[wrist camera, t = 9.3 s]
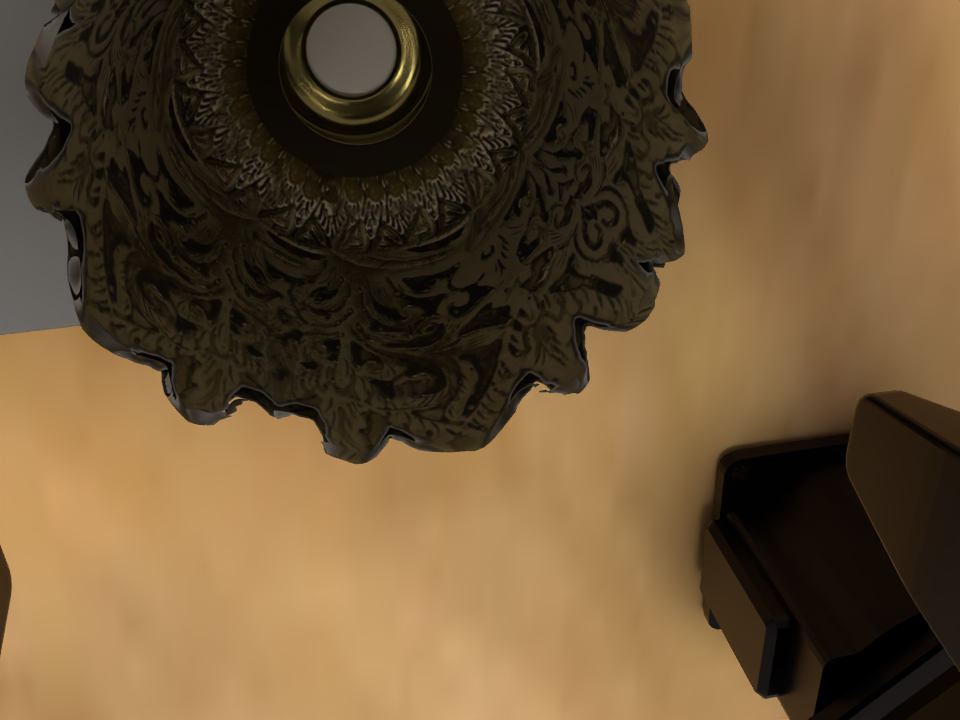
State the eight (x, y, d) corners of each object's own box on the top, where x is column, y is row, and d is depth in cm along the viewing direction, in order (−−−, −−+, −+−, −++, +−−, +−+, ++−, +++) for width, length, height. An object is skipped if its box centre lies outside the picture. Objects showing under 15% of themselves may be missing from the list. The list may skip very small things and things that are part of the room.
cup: (619, -49, 17) (842, 23, 10) (445, 289, 19) (526, 528, 13) (222, -281, 14) (151, -400, 7) (85, 149, 17) (-61, 357, 10)
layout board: (596, -280, 16) (624, -291, 15) (589, 237, 21) (610, 266, 20) (-675, -229, 14) (-790, -237, 12) (-345, 344, 19) (-398, 386, 17)
